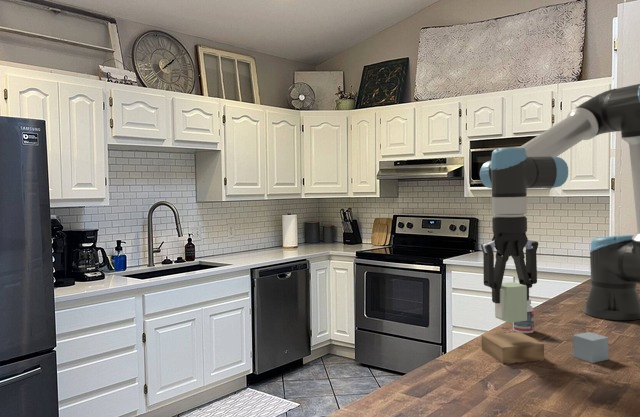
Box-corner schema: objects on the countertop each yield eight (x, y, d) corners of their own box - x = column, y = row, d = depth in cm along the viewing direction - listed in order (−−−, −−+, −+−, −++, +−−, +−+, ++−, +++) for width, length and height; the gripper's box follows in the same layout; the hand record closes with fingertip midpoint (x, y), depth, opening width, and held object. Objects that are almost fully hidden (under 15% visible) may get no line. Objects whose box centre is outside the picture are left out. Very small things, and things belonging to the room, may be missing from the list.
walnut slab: (520, 348, 128) (520, 331, 128) (544, 361, 119) (543, 343, 118) (481, 351, 127) (481, 335, 127) (502, 365, 117) (502, 347, 117)
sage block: (514, 315, 125) (513, 282, 125) (527, 320, 120) (526, 285, 120) (495, 317, 124) (494, 283, 124) (507, 322, 119) (507, 287, 119)
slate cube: (588, 353, 122) (588, 332, 122) (608, 359, 118) (608, 337, 117) (573, 356, 120) (573, 335, 120) (592, 363, 116) (592, 340, 115)
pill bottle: (535, 334, 138) (535, 300, 138) (514, 333, 139) (514, 300, 139) (531, 328, 144) (531, 296, 143) (511, 328, 145) (511, 295, 144)
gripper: (533, 213, 127) (535, 309, 128) (465, 216, 123) (467, 315, 124) (554, 214, 120) (555, 316, 121) (482, 218, 116) (484, 323, 117)
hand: (510, 315), depth 122 cm, fingers closed on sage block, 5 cm apart
